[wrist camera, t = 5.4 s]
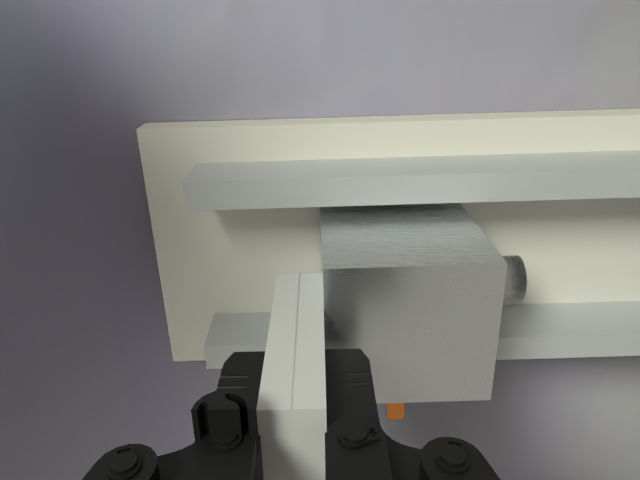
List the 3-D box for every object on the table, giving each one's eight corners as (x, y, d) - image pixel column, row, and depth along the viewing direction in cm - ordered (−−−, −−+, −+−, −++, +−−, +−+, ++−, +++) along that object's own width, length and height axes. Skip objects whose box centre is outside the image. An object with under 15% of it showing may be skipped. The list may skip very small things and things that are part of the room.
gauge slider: (323, 358, 23) (328, 469, 17) (319, 198, 20) (322, 269, 14) (483, 353, 23) (538, 462, 17) (501, 192, 20) (574, 261, 14)
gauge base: (179, 345, 24) (120, 496, 17) (145, 123, 20) (47, 188, 13) (708, 328, 24) (887, 471, 17) (776, 104, 20) (1051, 158, 13)
